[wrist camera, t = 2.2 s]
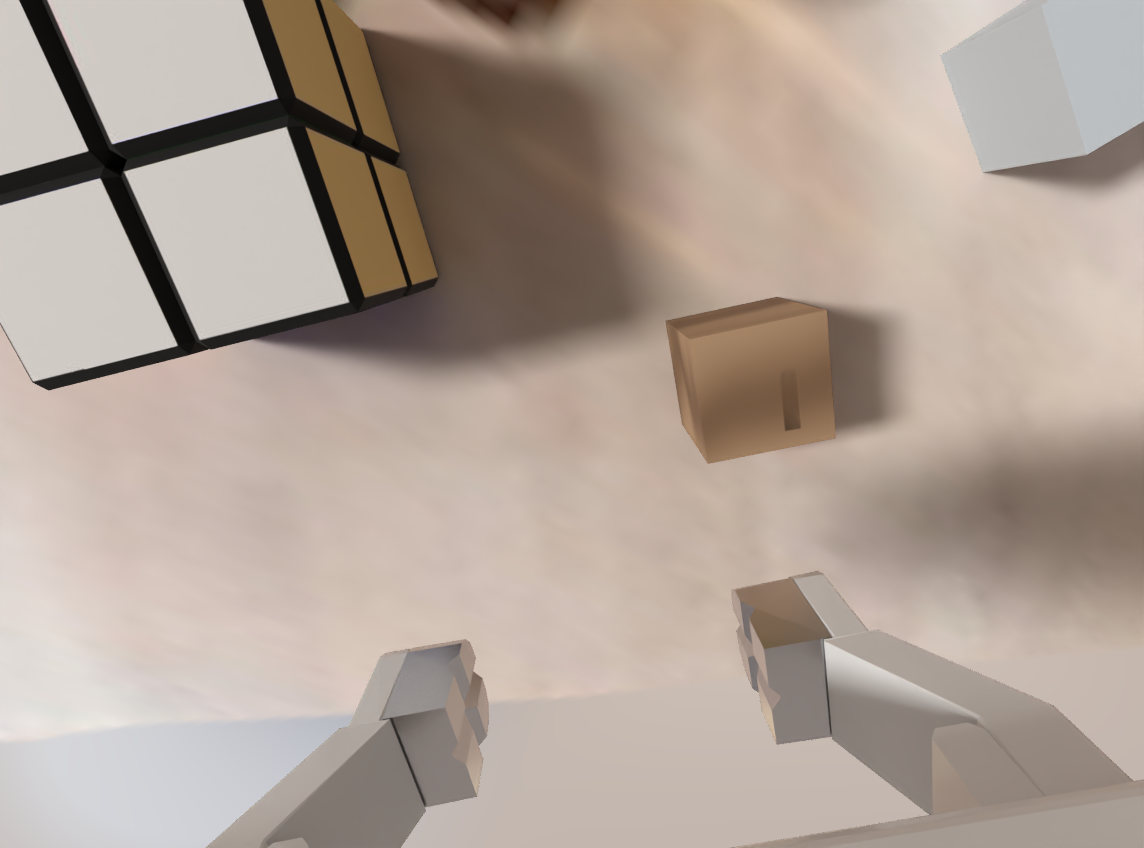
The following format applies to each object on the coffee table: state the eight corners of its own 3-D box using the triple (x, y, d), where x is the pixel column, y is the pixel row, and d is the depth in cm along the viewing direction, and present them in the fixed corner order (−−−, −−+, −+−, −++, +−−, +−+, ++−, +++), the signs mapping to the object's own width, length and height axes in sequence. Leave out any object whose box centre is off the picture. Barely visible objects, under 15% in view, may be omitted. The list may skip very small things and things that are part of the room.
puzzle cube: (230, 338, 25) (28, 396, 16) (123, 94, 22) (-205, -18, 13) (442, 284, 25) (366, 310, 15) (363, 25, 22) (205, -146, 12)
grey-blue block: (939, 56, 22) (1040, 5, 17) (1062, -24, 21) (1204, -100, 17) (981, 172, 24) (1086, 154, 19) (1099, 101, 23) (1240, 64, 18)
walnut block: (665, 320, 25) (689, 339, 20) (776, 297, 25) (826, 310, 20) (682, 424, 27) (708, 463, 22) (786, 402, 26) (835, 438, 22)
